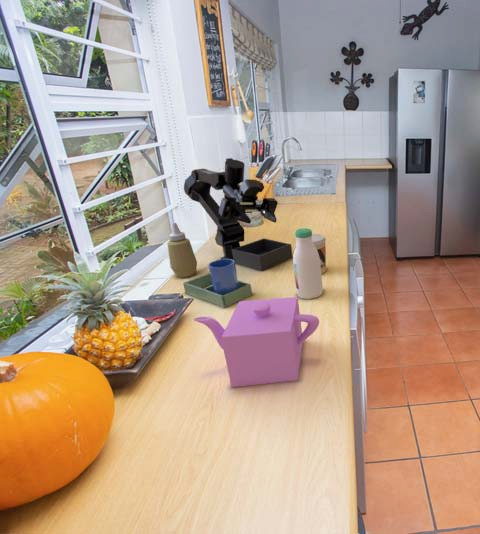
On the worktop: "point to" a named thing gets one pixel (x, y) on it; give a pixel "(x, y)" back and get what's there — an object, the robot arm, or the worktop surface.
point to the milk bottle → (307, 266)
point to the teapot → (263, 340)
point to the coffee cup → (320, 249)
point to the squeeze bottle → (181, 253)
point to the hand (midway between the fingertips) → (263, 221)
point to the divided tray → (208, 293)
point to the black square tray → (262, 254)
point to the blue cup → (223, 276)
